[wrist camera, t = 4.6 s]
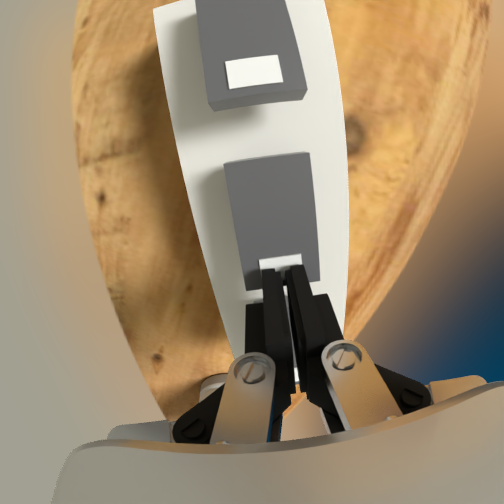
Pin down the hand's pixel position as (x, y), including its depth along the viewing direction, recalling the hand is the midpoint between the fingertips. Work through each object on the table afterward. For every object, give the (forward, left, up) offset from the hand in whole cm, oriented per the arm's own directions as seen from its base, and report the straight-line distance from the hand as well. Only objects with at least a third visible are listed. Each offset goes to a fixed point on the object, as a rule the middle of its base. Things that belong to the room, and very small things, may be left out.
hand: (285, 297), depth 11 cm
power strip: (-5, 0, -7) cm, 8 cm away
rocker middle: (-3, 0, -1) cm, 3 cm away
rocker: (-10, 0, -1) cm, 10 cm away
